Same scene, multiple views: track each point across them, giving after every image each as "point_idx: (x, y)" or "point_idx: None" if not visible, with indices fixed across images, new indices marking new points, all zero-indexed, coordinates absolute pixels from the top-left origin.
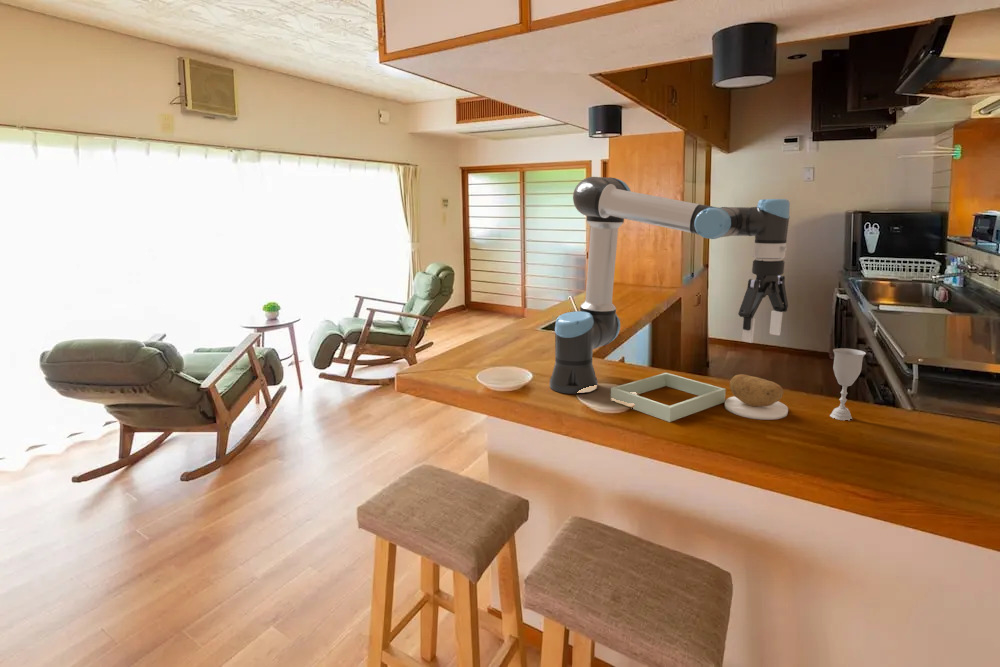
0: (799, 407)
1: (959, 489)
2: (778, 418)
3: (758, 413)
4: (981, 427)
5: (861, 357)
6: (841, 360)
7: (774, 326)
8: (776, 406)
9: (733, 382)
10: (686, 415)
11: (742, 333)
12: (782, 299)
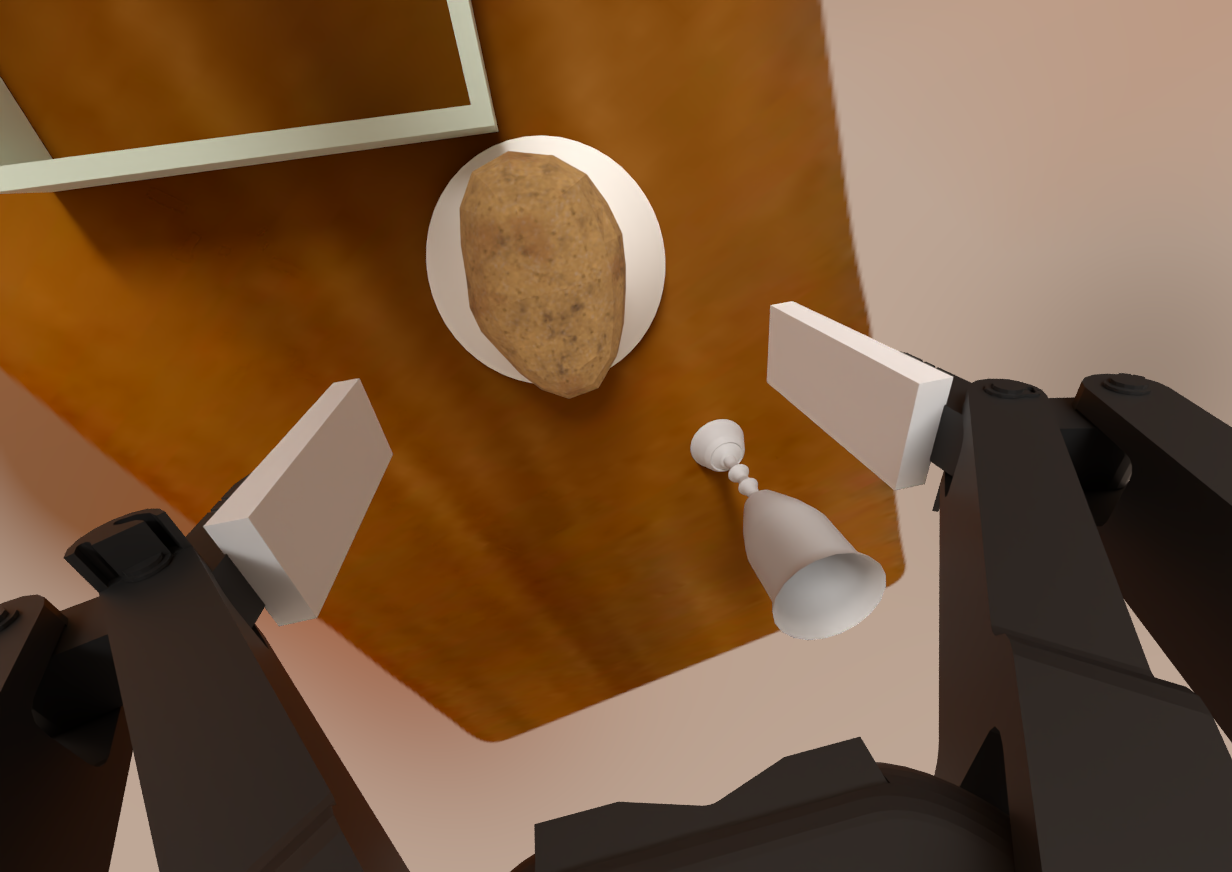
0: (700, 337)
1: (541, 701)
2: None
3: (485, 344)
4: None
5: (813, 621)
6: (765, 580)
7: (804, 367)
8: None
9: (463, 211)
10: (187, 173)
11: (306, 414)
12: (1124, 554)
